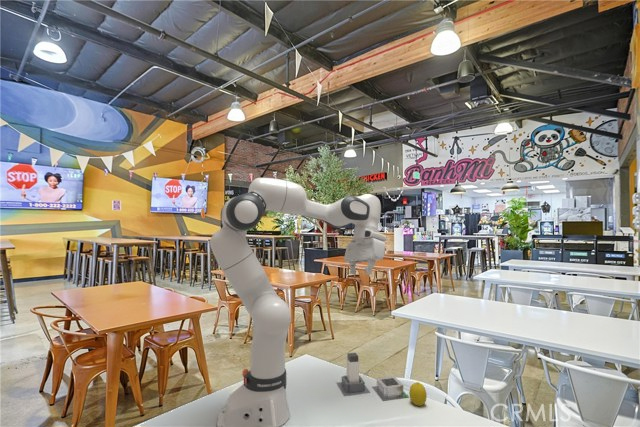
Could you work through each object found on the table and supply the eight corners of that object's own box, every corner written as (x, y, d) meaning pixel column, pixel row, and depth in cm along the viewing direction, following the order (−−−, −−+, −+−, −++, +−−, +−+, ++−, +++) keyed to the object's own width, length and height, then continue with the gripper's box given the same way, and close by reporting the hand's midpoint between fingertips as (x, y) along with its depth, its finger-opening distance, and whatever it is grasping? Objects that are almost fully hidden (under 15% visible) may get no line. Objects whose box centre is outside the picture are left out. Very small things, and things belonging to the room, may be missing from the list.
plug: (349, 390, 115) (349, 357, 116) (346, 385, 119) (346, 353, 119) (359, 389, 116) (359, 356, 117) (355, 384, 120) (355, 352, 120)
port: (382, 404, 108) (382, 390, 109) (371, 389, 118) (371, 377, 118) (409, 400, 111) (409, 387, 111) (396, 386, 120) (396, 374, 121)
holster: (344, 399, 111) (344, 387, 112) (336, 385, 121) (336, 374, 121) (370, 395, 114) (370, 384, 114) (360, 382, 123) (360, 371, 124)
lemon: (427, 412, 104) (427, 387, 104) (410, 410, 105) (409, 385, 105) (425, 402, 109) (425, 379, 109) (408, 401, 110) (408, 377, 111)
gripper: (343, 238, 125) (337, 272, 121) (375, 230, 108) (369, 271, 103) (356, 242, 128) (351, 276, 124) (389, 235, 110) (385, 275, 106)
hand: (360, 274), depth 113 cm, fingers open, 8 cm apart
